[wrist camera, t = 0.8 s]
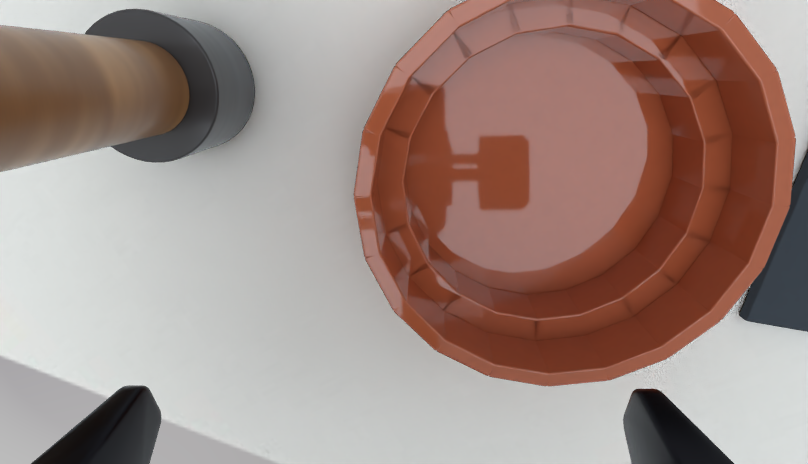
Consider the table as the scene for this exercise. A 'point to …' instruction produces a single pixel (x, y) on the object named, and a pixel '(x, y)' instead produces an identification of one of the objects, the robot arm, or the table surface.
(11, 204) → the table surface
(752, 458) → the table surface
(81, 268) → the table surface
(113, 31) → the wooden peg on base
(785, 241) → the mat
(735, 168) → the bowl
